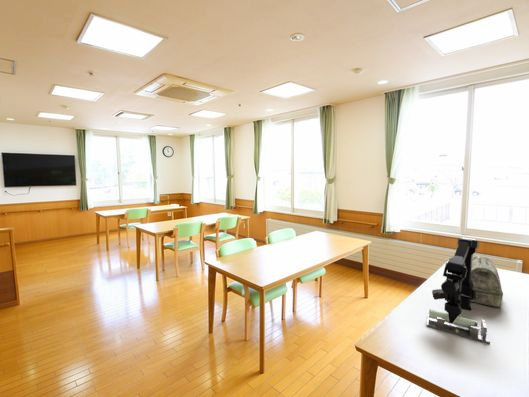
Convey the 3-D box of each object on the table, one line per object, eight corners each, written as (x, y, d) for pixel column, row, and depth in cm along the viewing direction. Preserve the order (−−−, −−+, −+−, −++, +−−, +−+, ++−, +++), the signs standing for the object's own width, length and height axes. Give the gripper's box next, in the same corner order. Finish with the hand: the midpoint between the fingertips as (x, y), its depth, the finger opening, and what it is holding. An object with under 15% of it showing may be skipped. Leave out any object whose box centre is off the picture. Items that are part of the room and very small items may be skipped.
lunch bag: (462, 284, 179) (465, 252, 176) (498, 292, 168) (502, 258, 165) (460, 300, 158) (464, 264, 155) (502, 310, 147) (506, 272, 144)
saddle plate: (428, 314, 143) (428, 304, 142) (486, 330, 129) (487, 318, 129) (426, 326, 133) (427, 314, 132) (489, 344, 120) (491, 331, 119)
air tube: (429, 315, 139) (429, 307, 138) (473, 326, 129) (474, 318, 128) (428, 319, 136) (429, 311, 135) (473, 331, 126) (474, 323, 125)
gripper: (434, 276, 142) (432, 304, 144) (433, 290, 127) (430, 321, 129) (460, 282, 136) (457, 311, 138) (462, 297, 121) (459, 329, 123)
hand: (450, 317), depth 132 cm, fingers open, 9 cm apart
